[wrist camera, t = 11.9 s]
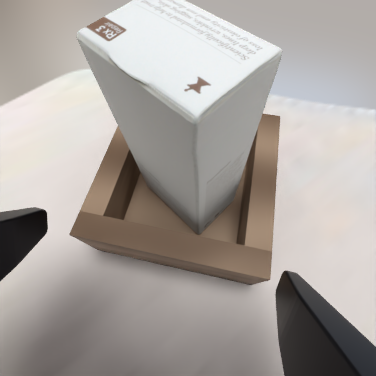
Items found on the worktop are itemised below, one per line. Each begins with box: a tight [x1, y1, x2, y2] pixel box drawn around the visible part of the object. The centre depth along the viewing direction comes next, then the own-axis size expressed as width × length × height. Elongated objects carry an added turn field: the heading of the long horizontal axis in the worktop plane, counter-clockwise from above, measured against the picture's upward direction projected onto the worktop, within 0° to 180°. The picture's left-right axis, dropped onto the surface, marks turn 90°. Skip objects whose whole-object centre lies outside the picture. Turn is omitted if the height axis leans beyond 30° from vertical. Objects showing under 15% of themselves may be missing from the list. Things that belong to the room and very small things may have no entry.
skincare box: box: [77, 0, 282, 234], centre depth 13 cm, size 6×4×12 cm
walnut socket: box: [70, 114, 280, 285], centre depth 17 cm, size 12×12×4 cm
